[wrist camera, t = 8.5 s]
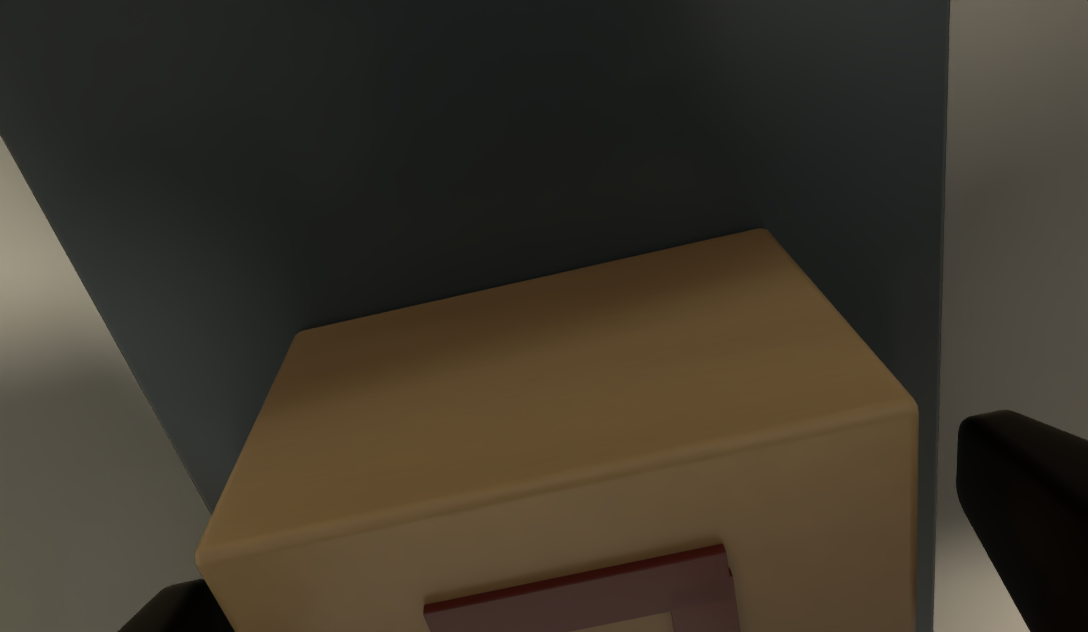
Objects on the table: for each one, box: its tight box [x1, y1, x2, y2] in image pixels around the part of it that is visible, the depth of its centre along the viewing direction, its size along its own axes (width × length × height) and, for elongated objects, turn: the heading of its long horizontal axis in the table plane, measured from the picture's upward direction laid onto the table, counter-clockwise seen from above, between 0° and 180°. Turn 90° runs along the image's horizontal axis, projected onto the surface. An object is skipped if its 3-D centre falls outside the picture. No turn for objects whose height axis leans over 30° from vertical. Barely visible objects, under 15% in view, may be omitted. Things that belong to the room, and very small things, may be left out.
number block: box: [195, 228, 919, 632], centre depth 7 cm, size 5×5×3 cm
